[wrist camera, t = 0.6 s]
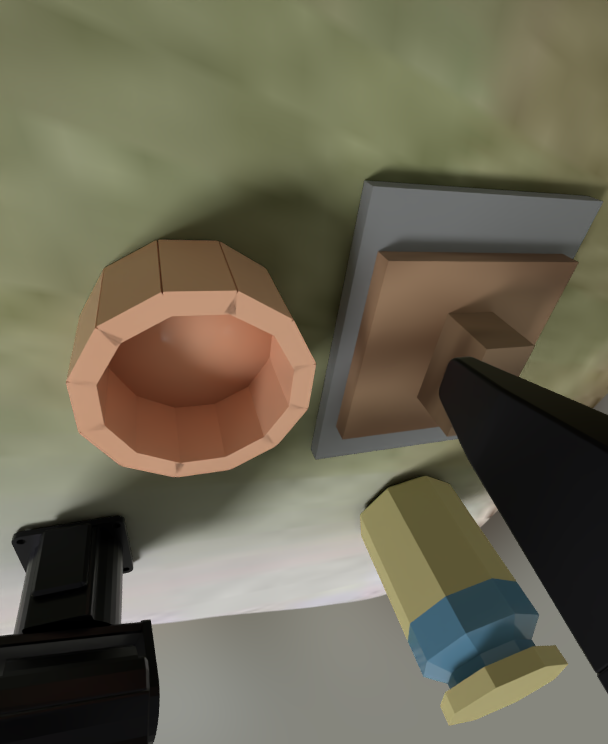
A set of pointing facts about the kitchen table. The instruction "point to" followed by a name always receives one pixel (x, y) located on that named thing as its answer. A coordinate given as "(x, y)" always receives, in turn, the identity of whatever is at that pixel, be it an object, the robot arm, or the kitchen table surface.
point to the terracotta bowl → (187, 360)
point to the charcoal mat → (434, 234)
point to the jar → (455, 600)
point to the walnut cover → (442, 330)
